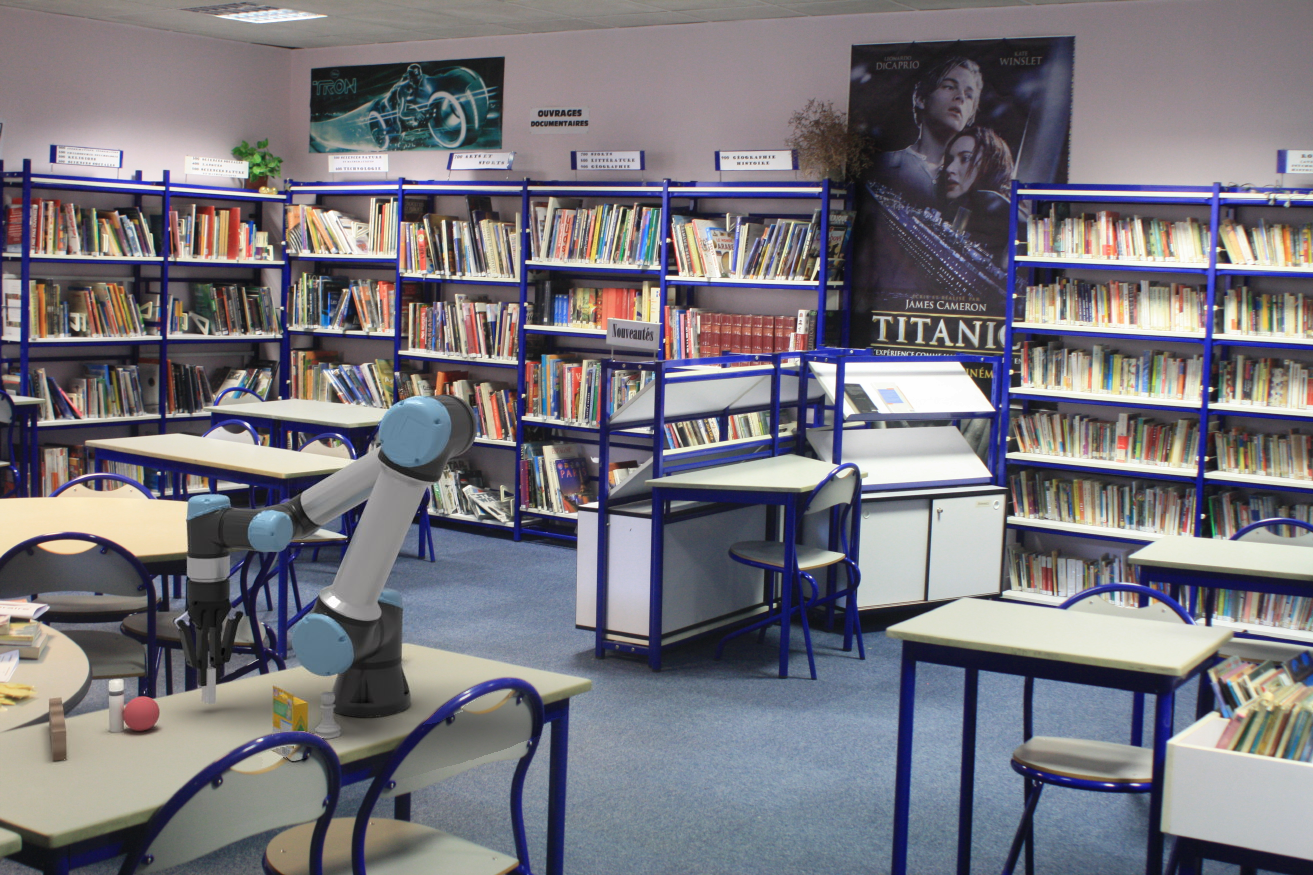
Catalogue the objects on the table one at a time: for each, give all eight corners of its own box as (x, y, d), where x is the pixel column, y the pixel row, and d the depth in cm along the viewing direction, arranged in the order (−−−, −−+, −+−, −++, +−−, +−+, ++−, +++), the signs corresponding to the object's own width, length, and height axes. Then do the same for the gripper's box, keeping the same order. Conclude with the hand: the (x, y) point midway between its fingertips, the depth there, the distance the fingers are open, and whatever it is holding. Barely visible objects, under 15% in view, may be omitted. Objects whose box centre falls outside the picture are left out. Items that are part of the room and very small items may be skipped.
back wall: (66, 759, 203) (66, 730, 202) (53, 761, 202) (52, 731, 201) (61, 724, 220) (61, 697, 220) (49, 725, 219) (49, 698, 219)
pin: (126, 730, 218) (126, 681, 217) (112, 733, 216) (111, 683, 215) (120, 726, 220) (120, 677, 219) (106, 729, 218) (106, 680, 217)
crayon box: (308, 758, 207) (309, 691, 206) (292, 762, 204) (292, 694, 204) (287, 747, 212) (288, 681, 211) (271, 751, 210) (271, 684, 209)
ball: (152, 738, 216) (172, 710, 220) (130, 717, 213) (150, 689, 217) (132, 736, 220) (152, 709, 223) (109, 716, 216) (130, 689, 220)
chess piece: (346, 733, 220) (346, 689, 219) (331, 740, 216) (331, 696, 215) (324, 729, 222) (324, 686, 221) (308, 737, 217) (308, 693, 217)
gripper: (232, 570, 235) (232, 690, 237) (165, 578, 226) (165, 703, 228) (250, 576, 230) (250, 699, 232) (182, 585, 221) (183, 713, 223)
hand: (208, 701), depth 230 cm, fingers closed
